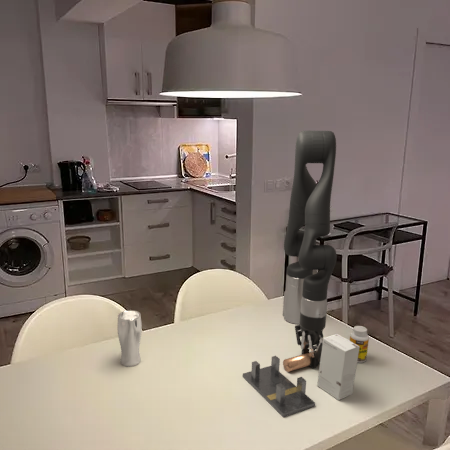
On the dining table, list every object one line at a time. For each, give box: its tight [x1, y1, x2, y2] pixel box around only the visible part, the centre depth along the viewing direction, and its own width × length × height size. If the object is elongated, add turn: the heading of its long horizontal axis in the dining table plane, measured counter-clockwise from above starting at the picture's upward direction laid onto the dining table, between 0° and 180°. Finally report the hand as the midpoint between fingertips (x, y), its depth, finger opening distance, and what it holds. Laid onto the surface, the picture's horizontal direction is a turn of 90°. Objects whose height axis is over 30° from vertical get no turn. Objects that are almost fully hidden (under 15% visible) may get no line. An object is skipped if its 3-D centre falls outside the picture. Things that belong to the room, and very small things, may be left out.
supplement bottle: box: [349, 325, 370, 364], centre depth 142 cm, size 6×6×10 cm
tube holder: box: [242, 355, 316, 418], centre depth 125 cm, size 20×10×6 cm, turn 28°
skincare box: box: [316, 333, 359, 401], centre depth 125 cm, size 8×6×15 cm
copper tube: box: [282, 350, 321, 373], centre depth 139 cm, size 17×4×4 cm, turn 118°
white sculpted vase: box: [117, 310, 143, 367], centre depth 137 cm, size 7×7×15 cm
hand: (309, 363), depth 139 cm, fingers closed on copper tube, 3 cm apart
